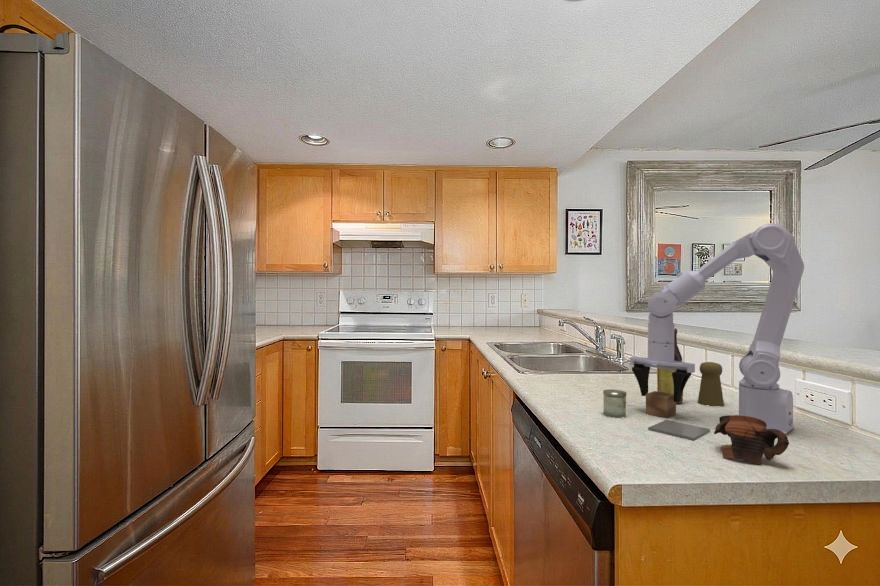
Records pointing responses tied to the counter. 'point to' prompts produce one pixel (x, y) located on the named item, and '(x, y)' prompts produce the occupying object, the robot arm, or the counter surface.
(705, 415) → the counter surface
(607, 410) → the green spice tin
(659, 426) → the slate tile
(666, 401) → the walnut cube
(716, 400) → the cork
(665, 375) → the sauce bottle
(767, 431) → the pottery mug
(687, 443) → the counter surface
